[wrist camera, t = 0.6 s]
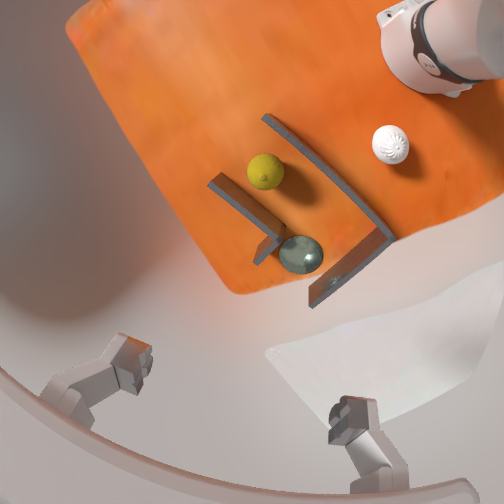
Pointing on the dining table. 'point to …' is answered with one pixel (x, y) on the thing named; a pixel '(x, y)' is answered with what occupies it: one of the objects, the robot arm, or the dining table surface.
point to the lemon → (265, 171)
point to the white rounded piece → (390, 144)
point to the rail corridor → (302, 247)
